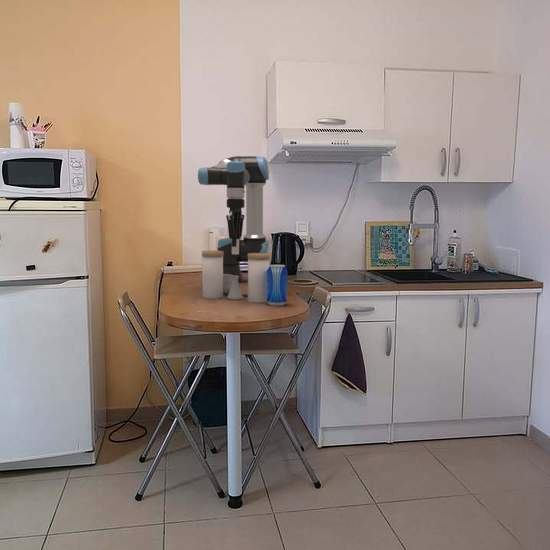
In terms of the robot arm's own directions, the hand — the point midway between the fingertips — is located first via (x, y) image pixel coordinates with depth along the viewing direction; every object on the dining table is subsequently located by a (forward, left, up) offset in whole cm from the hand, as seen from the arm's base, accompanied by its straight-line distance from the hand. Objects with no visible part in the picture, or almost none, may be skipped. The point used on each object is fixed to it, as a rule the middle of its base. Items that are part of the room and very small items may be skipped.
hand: (235, 254), depth 232 cm
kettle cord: (-7, 0, -19) cm, 21 cm away
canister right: (0, +11, -19) cm, 22 cm away
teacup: (-14, -14, -20) cm, 28 cm away
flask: (0, 0, -20) cm, 20 cm away
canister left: (0, -11, -19) cm, 22 cm away
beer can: (+4, +21, -20) cm, 29 cm away
